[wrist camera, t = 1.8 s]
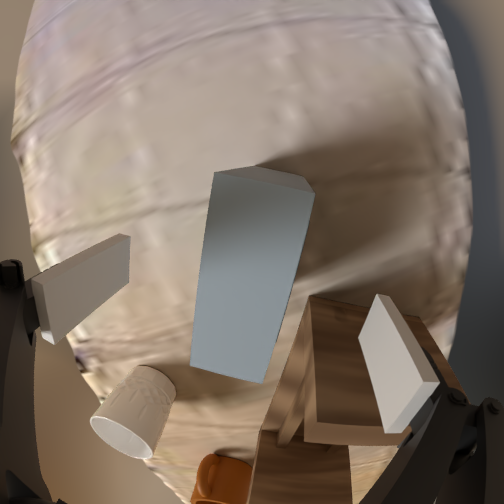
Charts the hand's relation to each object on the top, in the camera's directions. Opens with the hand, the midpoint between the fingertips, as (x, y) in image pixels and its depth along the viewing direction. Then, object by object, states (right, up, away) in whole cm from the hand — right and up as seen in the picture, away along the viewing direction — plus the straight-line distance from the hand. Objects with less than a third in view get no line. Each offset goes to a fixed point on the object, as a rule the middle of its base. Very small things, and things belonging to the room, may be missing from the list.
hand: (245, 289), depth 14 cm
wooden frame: (+9, -13, +14) cm, 22 cm away
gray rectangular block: (+2, +4, +10) cm, 11 cm away
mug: (-4, -34, +23) cm, 41 cm away
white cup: (-12, -15, +18) cm, 27 cm away
